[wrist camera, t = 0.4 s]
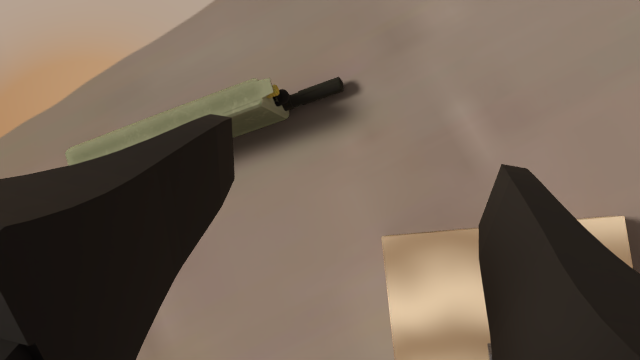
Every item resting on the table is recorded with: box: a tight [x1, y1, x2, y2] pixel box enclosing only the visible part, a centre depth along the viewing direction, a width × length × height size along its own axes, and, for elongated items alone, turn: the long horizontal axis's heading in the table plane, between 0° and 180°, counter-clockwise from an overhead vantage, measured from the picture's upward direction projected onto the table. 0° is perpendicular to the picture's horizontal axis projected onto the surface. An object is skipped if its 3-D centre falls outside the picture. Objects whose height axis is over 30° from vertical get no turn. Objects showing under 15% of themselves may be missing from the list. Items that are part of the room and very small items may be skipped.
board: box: [382, 216, 633, 360], centre depth 33 cm, size 18×17×4 cm
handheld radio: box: [65, 77, 344, 166], centre depth 40 cm, size 7×3×25 cm
